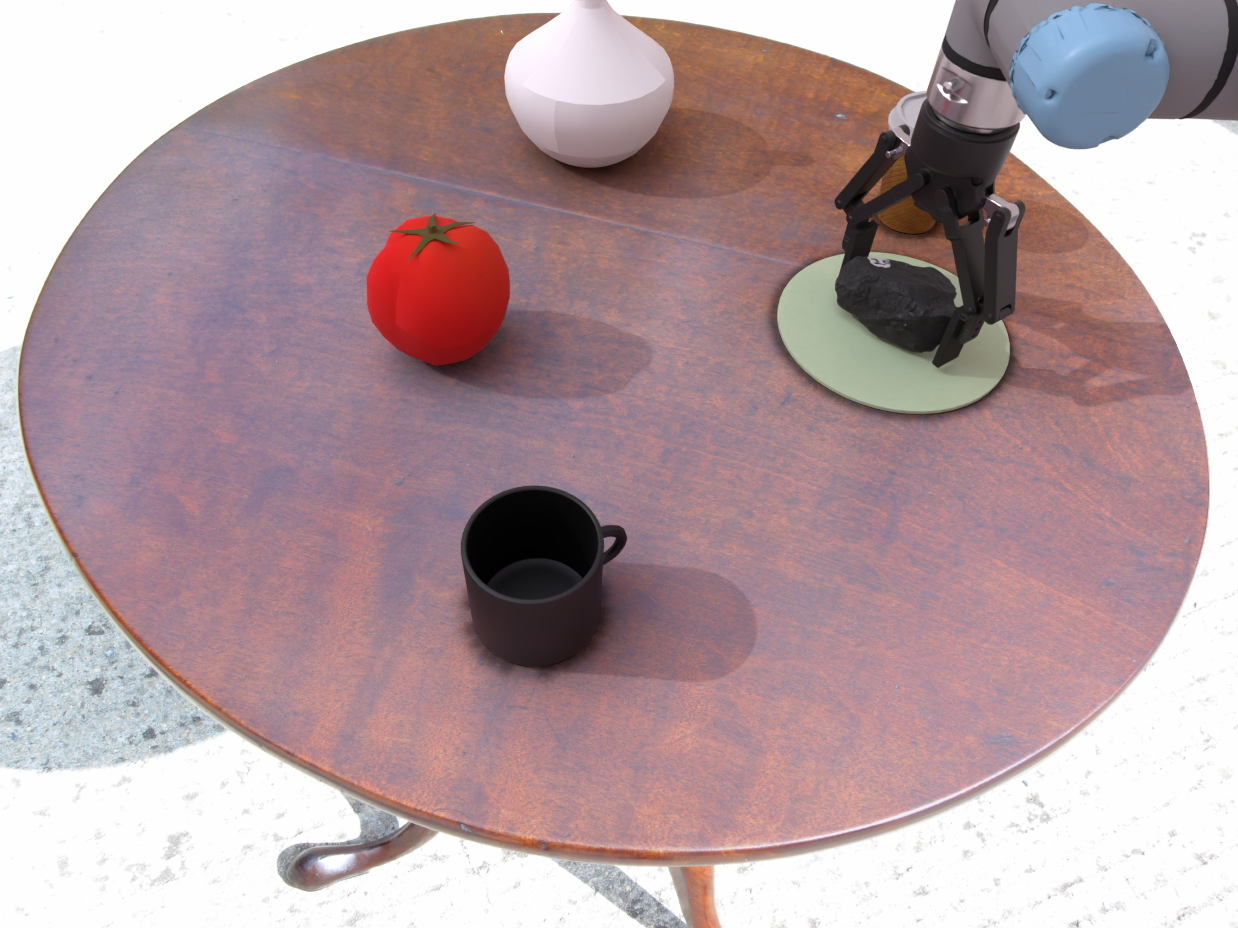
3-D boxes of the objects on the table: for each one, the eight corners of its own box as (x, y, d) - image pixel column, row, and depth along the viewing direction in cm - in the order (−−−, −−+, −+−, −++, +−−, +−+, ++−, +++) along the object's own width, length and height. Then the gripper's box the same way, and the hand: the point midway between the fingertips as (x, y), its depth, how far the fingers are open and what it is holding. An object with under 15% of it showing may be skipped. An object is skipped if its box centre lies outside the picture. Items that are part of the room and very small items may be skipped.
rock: (828, 288, 90) (842, 239, 85) (932, 293, 90) (952, 245, 85) (839, 353, 84) (855, 305, 80) (950, 359, 84) (972, 311, 80)
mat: (1057, 354, 87) (1059, 351, 86) (890, 450, 78) (892, 447, 78) (892, 230, 98) (893, 227, 97) (730, 302, 89) (731, 299, 89)
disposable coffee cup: (944, 194, 102) (982, 93, 93) (955, 248, 96) (997, 145, 87) (858, 186, 102) (887, 84, 93) (864, 239, 96) (896, 136, 87)
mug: (654, 620, 67) (664, 552, 60) (503, 690, 63) (495, 627, 56) (594, 525, 72) (597, 453, 65) (451, 585, 68) (438, 515, 61)
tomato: (367, 319, 86) (339, 200, 75) (494, 292, 89) (484, 173, 79) (394, 407, 79) (368, 289, 69) (531, 374, 82) (525, 256, 72)
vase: (654, 98, 112) (667, -71, 97) (681, 187, 101) (700, 11, 86) (503, 103, 110) (493, -69, 95) (513, 195, 99) (503, 16, 84)
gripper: (829, 51, 75) (781, 261, 92) (1069, 207, 63) (963, 416, 80) (894, 29, 78) (837, 237, 95) (1136, 174, 66) (1021, 383, 82)
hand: (894, 319), depth 87 cm, fingers closed on rock, 12 cm apart
